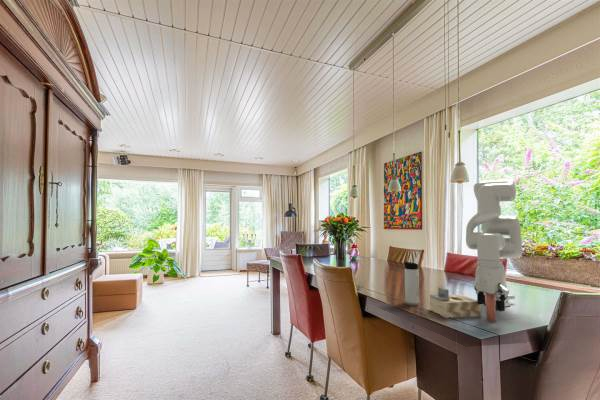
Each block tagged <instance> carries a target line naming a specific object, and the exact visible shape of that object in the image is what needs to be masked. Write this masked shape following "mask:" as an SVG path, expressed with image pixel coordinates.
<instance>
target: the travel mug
mask: <svg viewBox="0 0 600 400" xmlns="http://www.w3.org/2000/svg"><path fill="white" fill-rule="evenodd" d="M403 264H404V293H405V294H404V295H405V297H404V298H405V304H406V305H409V306H418V305H420V287H419V285H420V282H419V280H420V279H419V263H416V262H412V261H403Z"/></svg>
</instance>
